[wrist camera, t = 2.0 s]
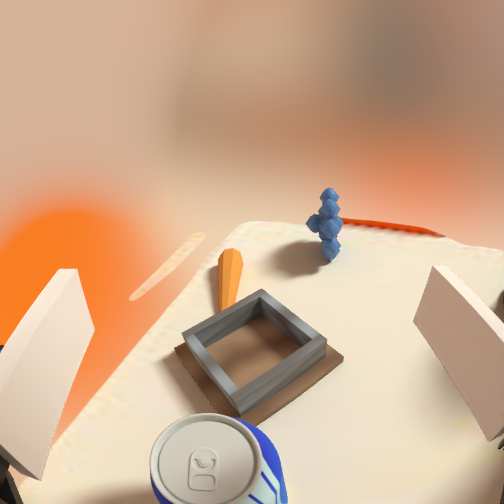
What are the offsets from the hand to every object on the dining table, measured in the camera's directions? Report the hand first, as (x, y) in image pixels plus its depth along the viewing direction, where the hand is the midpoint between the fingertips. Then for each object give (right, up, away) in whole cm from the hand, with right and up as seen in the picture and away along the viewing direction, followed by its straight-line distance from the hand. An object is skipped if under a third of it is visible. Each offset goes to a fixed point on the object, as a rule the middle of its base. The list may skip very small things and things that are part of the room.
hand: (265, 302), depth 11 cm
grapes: (+13, +2, +47) cm, 48 cm away
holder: (0, -12, +28) cm, 31 cm away
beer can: (-1, -23, +13) cm, 26 cm away
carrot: (-4, -6, +39) cm, 40 cm away
